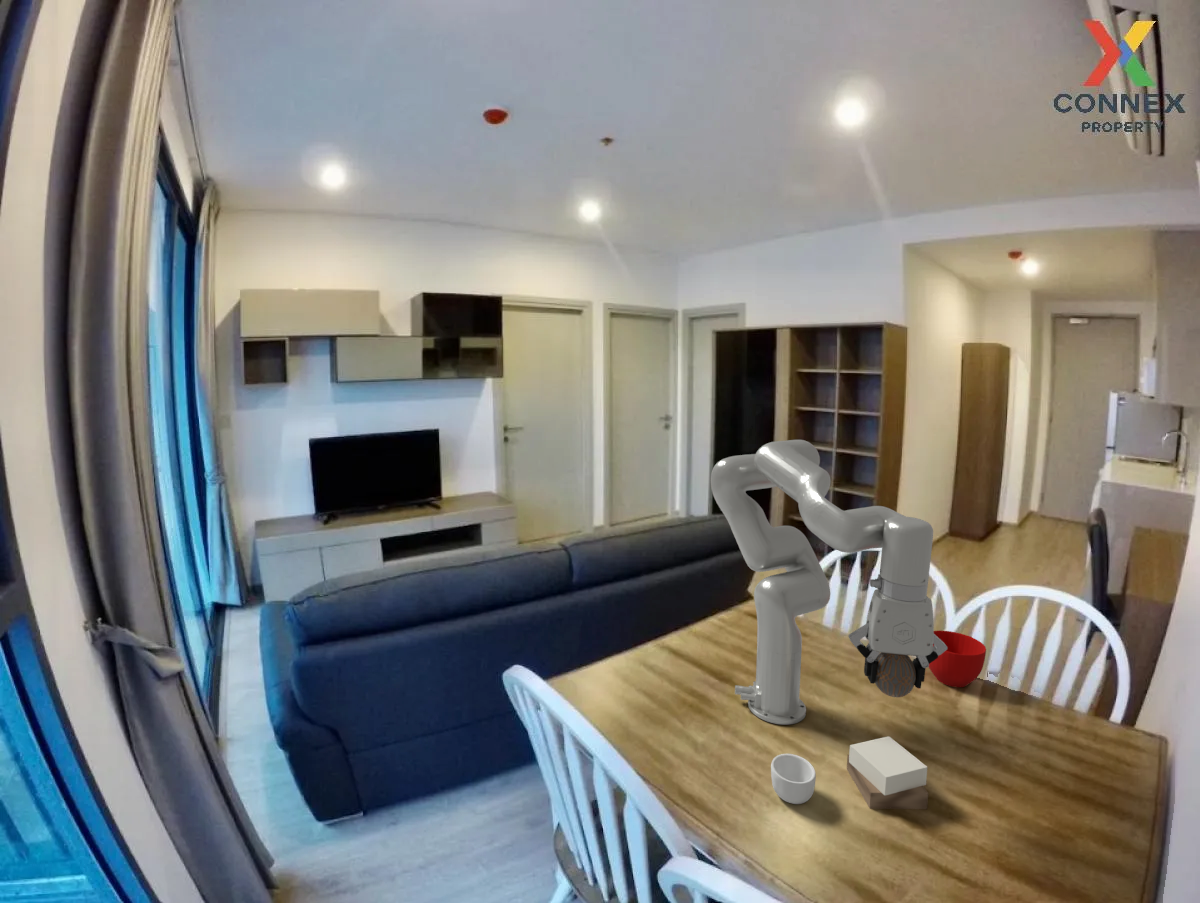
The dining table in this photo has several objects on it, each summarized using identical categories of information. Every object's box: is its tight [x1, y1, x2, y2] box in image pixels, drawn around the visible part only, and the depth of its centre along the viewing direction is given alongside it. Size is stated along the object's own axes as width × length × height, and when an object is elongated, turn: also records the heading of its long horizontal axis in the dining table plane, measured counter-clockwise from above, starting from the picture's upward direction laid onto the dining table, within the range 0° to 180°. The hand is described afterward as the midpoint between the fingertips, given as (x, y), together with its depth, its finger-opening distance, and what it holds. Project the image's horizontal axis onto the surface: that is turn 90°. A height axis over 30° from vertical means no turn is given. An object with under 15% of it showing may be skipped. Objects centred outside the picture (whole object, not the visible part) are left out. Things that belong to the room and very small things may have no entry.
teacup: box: [770, 753, 817, 805], centre depth 105 cm, size 10×8×5 cm
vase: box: [874, 652, 916, 698], centre depth 103 cm, size 7×7×9 cm
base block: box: [846, 754, 929, 810], centre depth 106 cm, size 10×10×4 cm
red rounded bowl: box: [928, 630, 987, 688], centre depth 143 cm, size 13×17×10 cm
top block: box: [848, 735, 928, 795], centre depth 105 cm, size 9×9×4 cm
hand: (893, 681), depth 103 cm, fingers closed on vase, 6 cm apart
